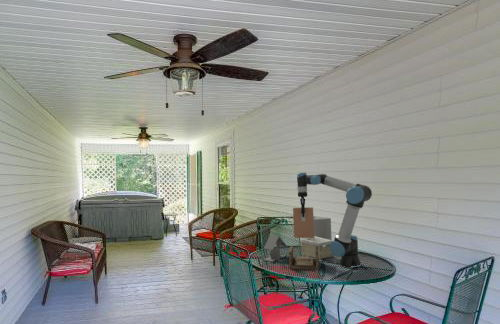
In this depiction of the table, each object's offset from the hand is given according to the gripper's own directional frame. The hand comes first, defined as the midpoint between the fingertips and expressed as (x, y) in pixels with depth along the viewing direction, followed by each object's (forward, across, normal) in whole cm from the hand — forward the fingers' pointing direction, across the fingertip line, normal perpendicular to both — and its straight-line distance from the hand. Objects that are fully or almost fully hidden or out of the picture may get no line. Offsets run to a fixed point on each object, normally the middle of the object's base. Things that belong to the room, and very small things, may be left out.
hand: (303, 220), depth 265 cm
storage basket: (+33, -16, +10) cm, 38 cm away
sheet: (+14, 0, 0) cm, 14 cm away
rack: (+33, +14, 0) cm, 36 cm away
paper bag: (+33, -42, +12) cm, 55 cm away
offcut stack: (+32, +19, 0) cm, 37 cm away
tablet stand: (+33, -5, -25) cm, 42 cm away
